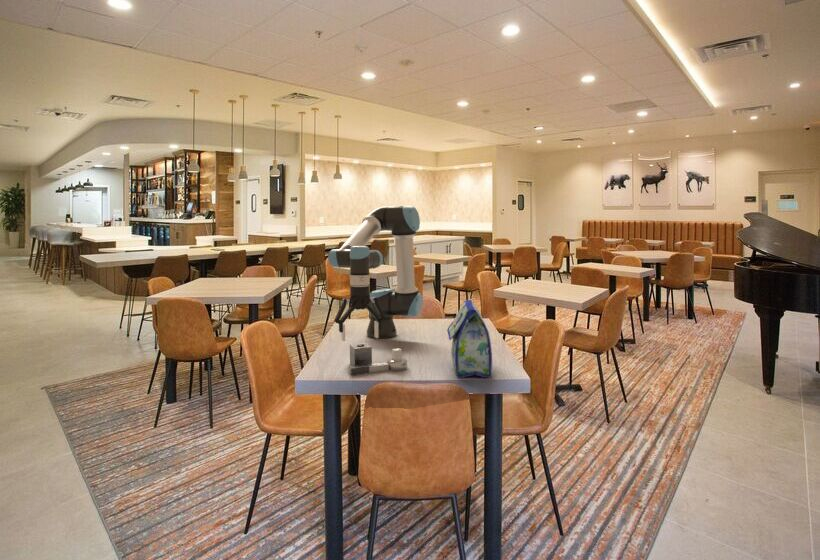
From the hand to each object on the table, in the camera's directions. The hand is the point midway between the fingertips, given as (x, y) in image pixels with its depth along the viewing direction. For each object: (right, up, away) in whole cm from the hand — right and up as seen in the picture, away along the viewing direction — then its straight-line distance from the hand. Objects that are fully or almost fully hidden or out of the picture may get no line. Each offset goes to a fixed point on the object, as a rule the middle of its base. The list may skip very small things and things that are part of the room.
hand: (360, 339), depth 189 cm
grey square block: (0, -11, +2) cm, 11 cm away
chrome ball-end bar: (+8, -11, -5) cm, 15 cm away
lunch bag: (+43, -12, -4) cm, 44 cm away
